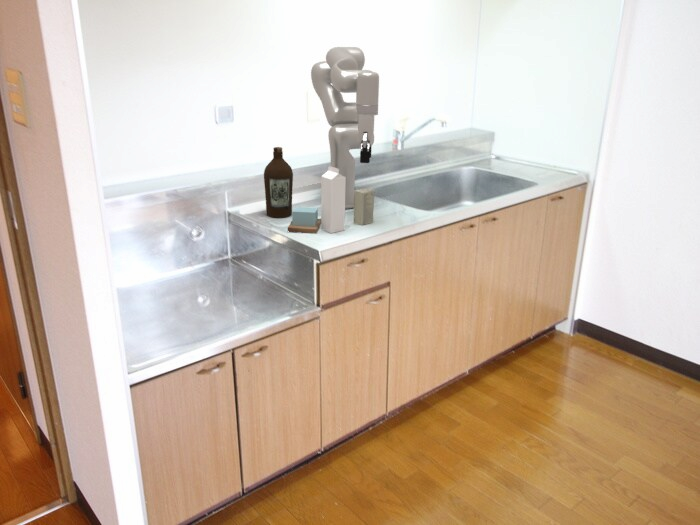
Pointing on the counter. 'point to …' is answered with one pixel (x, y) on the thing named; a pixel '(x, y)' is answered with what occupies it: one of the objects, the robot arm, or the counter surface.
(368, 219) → the skincare box
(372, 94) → the robot arm
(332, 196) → the milk
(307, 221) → the brick
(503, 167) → the counter surface
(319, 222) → the board
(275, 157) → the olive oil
